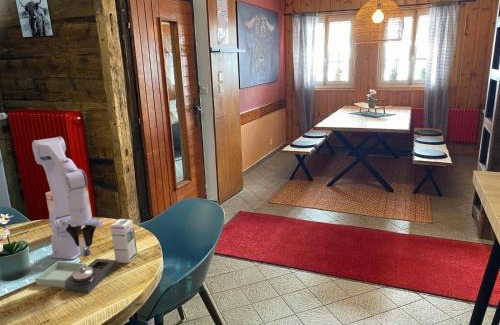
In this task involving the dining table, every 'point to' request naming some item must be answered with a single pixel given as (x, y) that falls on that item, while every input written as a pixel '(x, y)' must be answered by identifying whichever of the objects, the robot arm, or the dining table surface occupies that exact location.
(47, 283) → the tray
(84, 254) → the glass vial
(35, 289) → the dining table surface
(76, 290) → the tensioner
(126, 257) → the syrup box
